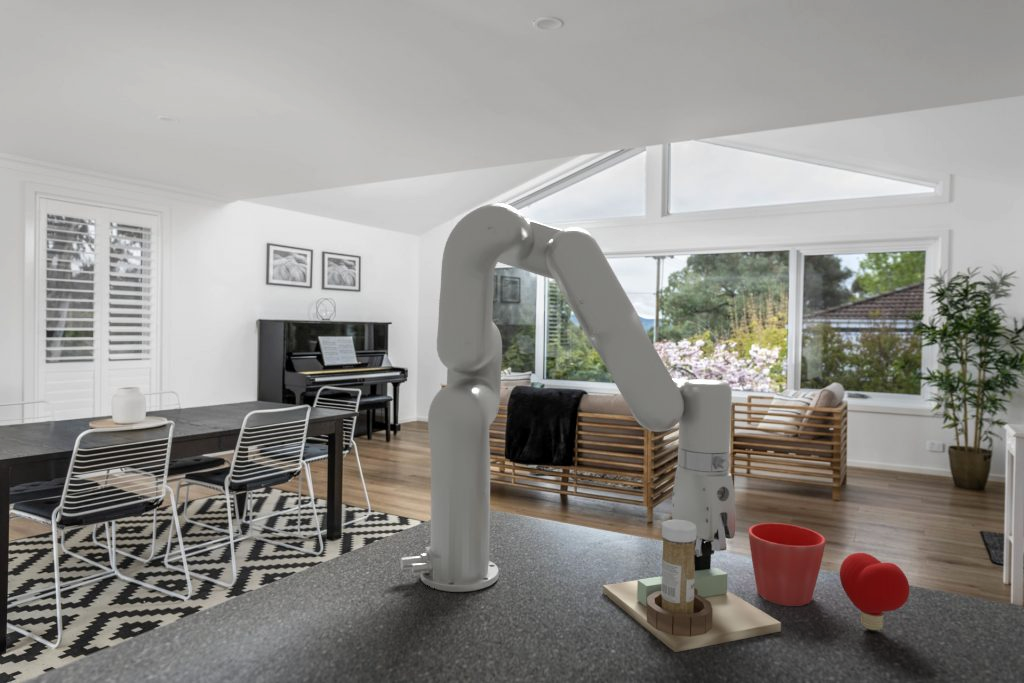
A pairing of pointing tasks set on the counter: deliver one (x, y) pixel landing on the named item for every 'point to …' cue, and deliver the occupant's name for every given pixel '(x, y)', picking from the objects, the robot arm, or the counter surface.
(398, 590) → the counter surface
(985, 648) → the counter surface
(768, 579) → the flower pot
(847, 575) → the red heart figurine
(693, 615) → the board
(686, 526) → the sprinkles bottle
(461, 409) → the robot arm
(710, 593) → the bar
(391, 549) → the counter surface
